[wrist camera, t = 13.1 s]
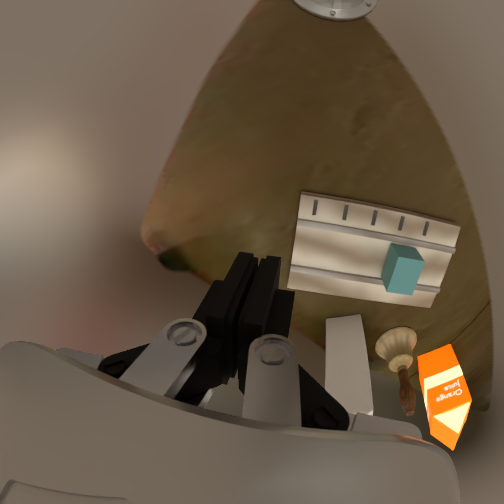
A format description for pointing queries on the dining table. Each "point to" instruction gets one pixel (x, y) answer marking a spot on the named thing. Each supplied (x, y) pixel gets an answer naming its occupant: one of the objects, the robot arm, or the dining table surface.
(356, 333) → the milk
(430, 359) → the orange juice
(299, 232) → the count board
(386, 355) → the hand bell
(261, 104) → the dining table surface
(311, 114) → the dining table surface
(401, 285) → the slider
